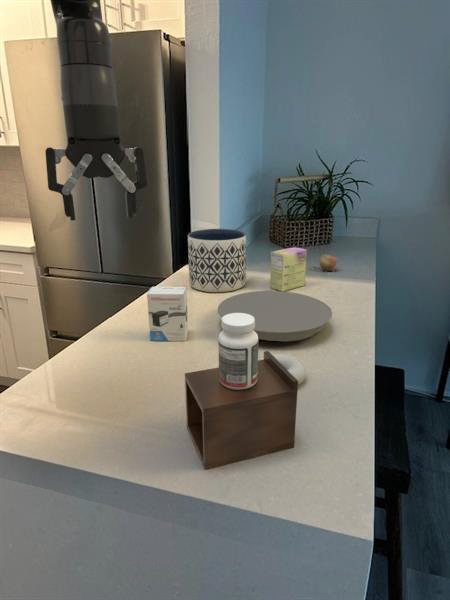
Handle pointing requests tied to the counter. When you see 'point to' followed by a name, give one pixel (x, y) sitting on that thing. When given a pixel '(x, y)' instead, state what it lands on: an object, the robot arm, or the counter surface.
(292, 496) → the counter surface
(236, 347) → the pill bottle
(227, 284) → the planter
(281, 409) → the open wooden cube
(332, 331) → the counter surface
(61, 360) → the counter surface
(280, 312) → the flat disc
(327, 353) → the counter surface
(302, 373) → the donut
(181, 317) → the ink box
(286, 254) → the box
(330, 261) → the apple
